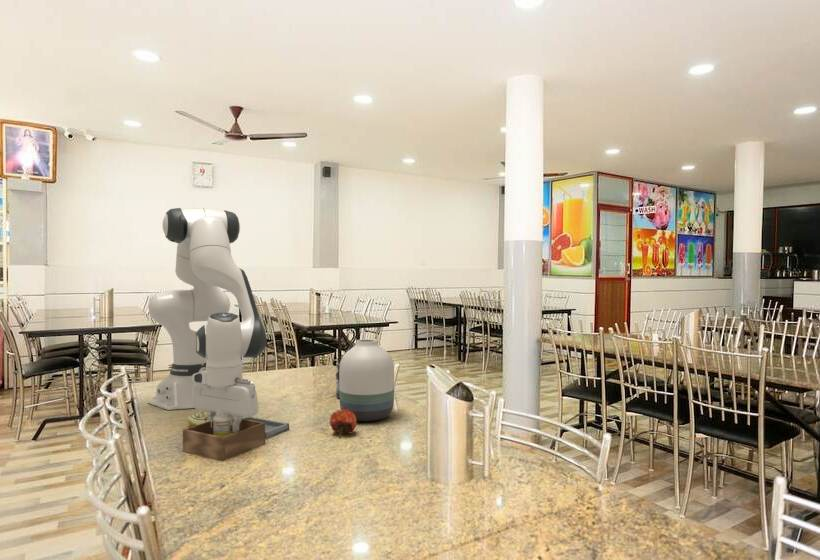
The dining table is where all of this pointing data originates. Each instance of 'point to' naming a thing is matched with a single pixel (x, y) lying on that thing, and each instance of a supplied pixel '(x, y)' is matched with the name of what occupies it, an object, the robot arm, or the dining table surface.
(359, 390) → the vase
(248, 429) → the box
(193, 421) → the decorated donut
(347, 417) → the pomegranate
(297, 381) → the dining table surface
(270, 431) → the tray
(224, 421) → the supplement bottle
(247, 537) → the dining table surface
